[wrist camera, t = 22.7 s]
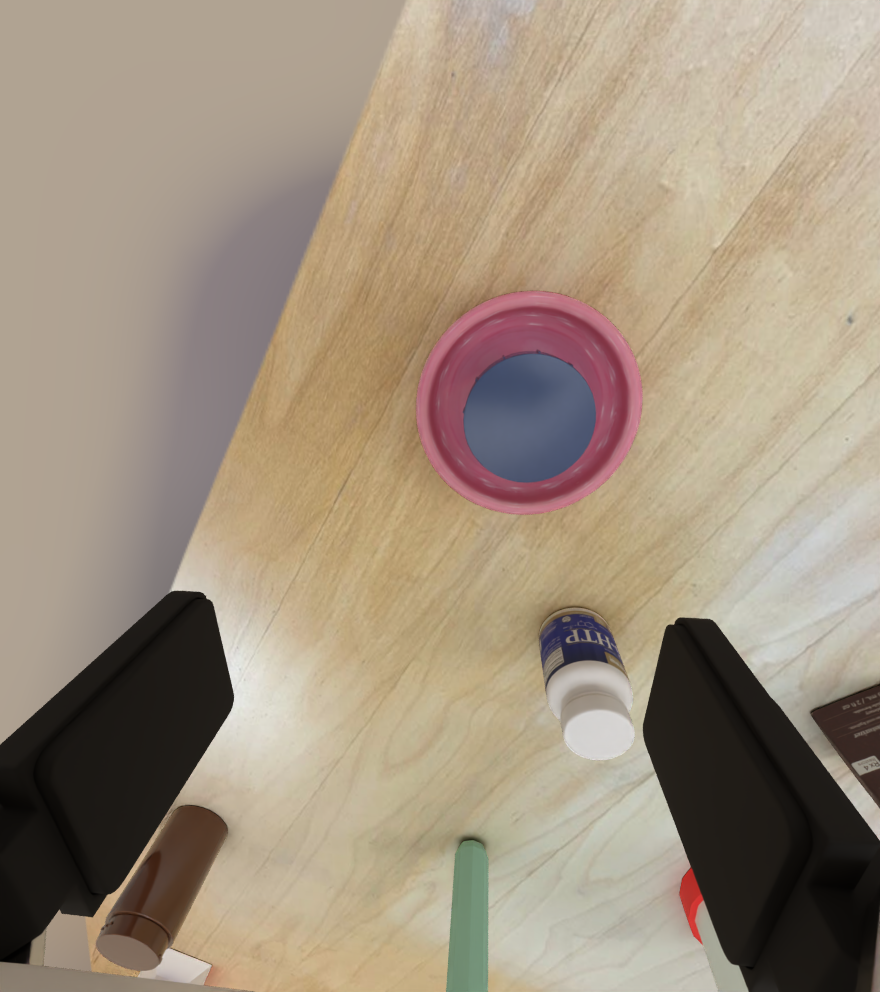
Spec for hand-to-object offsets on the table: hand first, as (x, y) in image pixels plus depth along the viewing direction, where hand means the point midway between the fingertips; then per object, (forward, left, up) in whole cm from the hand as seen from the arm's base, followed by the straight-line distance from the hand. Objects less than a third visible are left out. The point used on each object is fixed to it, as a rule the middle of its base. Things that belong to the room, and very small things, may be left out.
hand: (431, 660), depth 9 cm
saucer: (+3, +2, -21) cm, 21 cm away
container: (+9, -41, -21) cm, 47 cm away
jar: (-19, -48, -21) cm, 56 cm away
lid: (+3, +2, -17) cm, 17 cm away
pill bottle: (+11, -14, -21) cm, 28 cm away
